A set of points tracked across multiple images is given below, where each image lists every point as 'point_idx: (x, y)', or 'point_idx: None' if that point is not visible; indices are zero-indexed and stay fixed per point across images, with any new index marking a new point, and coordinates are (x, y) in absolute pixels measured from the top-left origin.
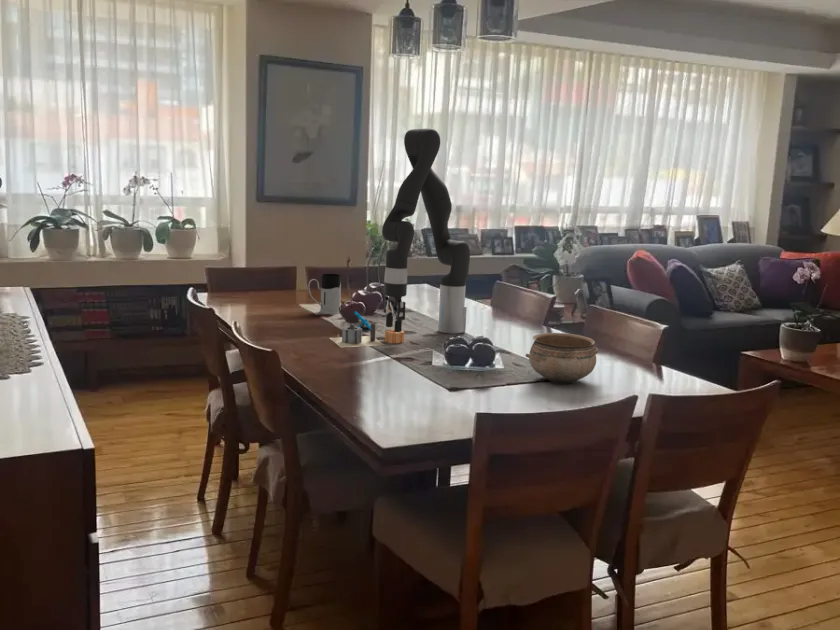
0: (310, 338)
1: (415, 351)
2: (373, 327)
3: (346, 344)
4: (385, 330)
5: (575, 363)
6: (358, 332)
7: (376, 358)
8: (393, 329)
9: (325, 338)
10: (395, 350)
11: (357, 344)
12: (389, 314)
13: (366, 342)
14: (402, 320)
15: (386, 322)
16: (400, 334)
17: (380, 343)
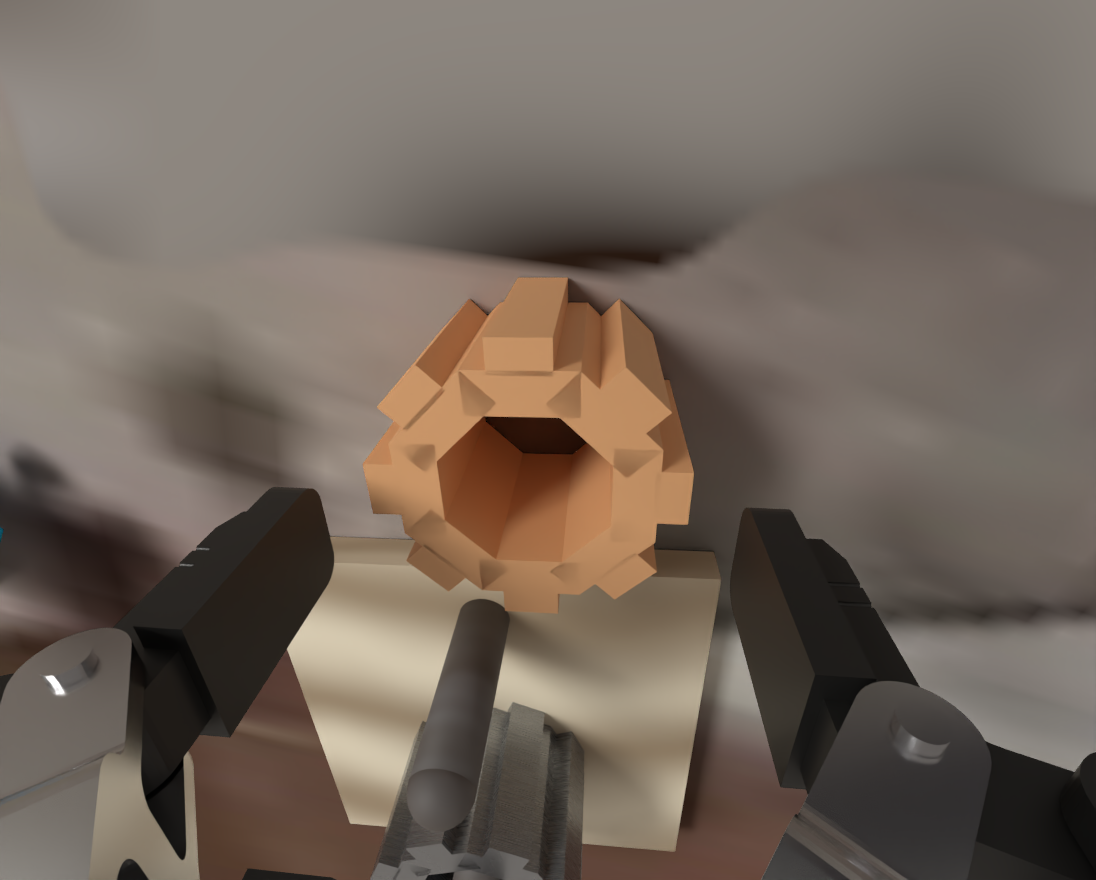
0: (273, 840)
1: (1018, 263)
2: (479, 769)
3: (590, 805)
4: (447, 588)
5: None
6: (573, 857)
7: (1024, 717)
8: (384, 465)
9: (267, 786)
10: (831, 483)
11: (613, 753)
12: (164, 733)
13: (554, 681)
14: (945, 708)
15: (290, 626)
16: (658, 432)
17: (631, 595)
